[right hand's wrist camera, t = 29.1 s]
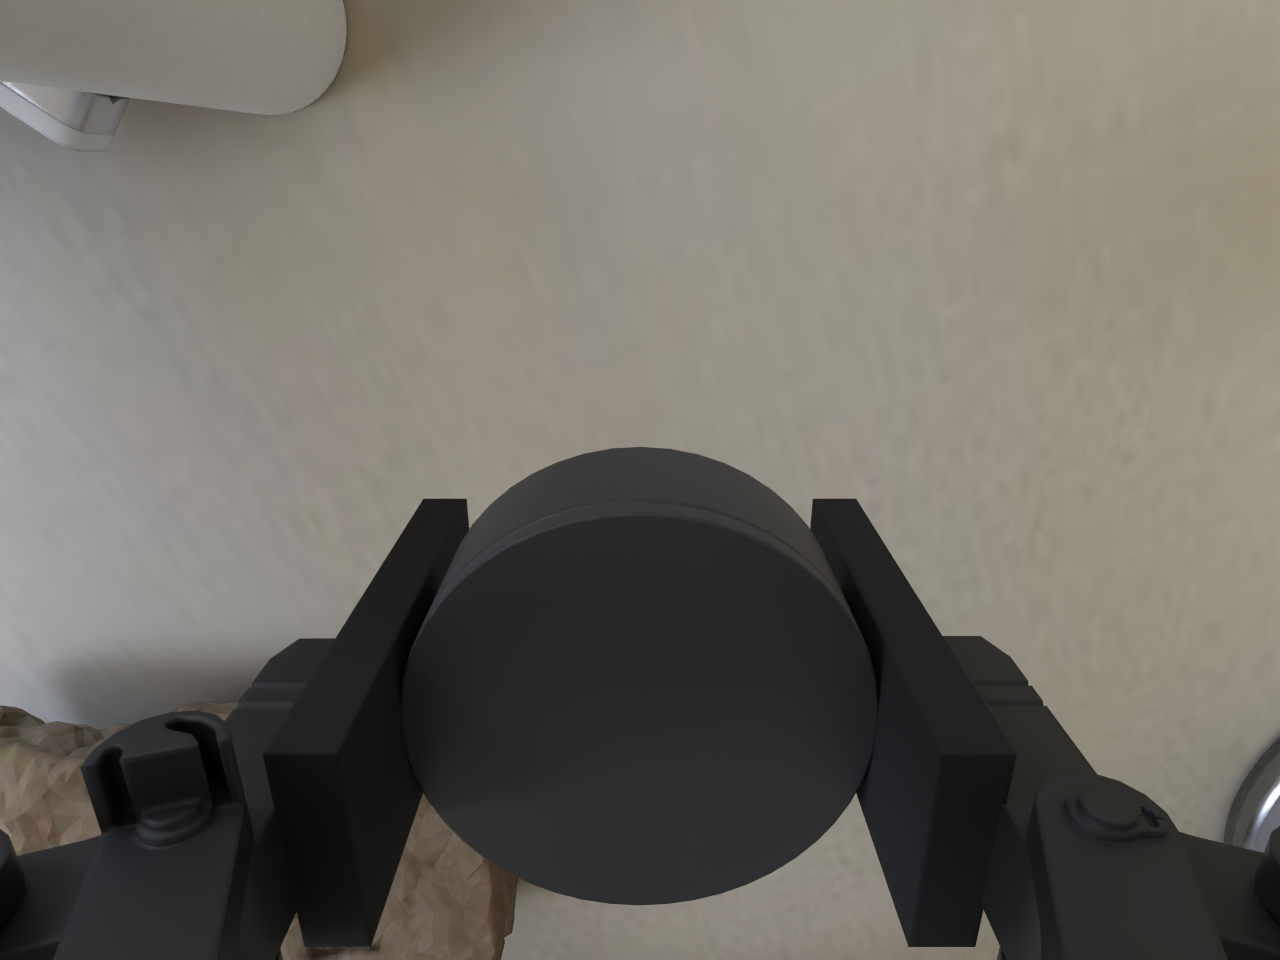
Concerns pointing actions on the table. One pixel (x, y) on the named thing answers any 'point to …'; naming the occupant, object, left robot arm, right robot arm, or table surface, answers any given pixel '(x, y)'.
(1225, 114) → the table surface
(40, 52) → the white bottle
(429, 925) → the stone
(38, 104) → the left robot arm
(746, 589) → the lid
